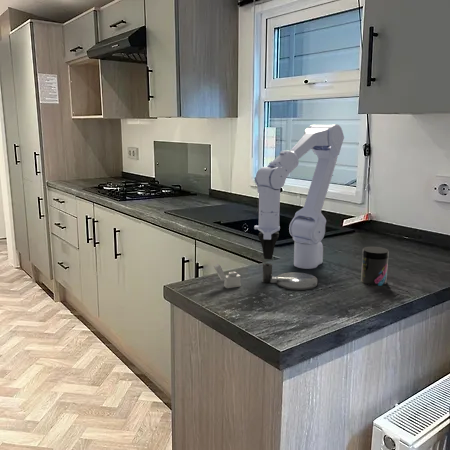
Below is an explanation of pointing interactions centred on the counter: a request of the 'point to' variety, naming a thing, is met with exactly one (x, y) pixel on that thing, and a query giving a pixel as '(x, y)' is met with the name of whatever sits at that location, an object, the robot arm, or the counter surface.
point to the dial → (289, 279)
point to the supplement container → (374, 266)
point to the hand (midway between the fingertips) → (268, 258)
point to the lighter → (228, 277)
